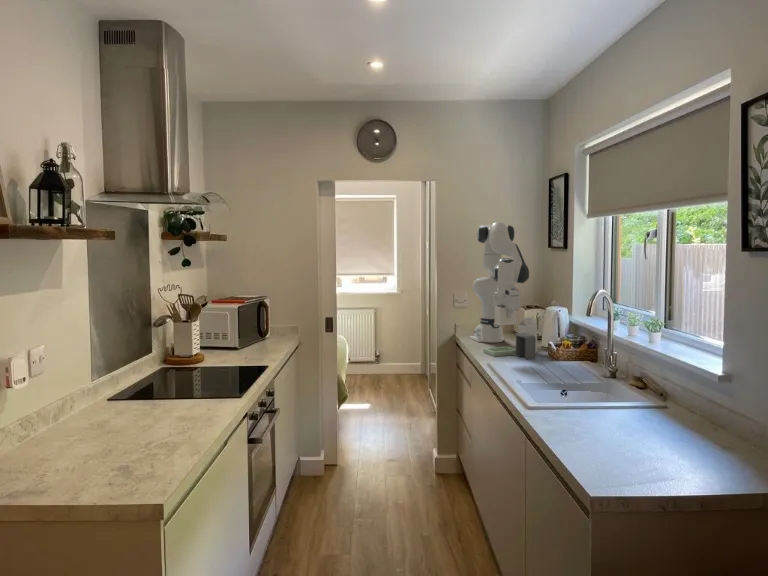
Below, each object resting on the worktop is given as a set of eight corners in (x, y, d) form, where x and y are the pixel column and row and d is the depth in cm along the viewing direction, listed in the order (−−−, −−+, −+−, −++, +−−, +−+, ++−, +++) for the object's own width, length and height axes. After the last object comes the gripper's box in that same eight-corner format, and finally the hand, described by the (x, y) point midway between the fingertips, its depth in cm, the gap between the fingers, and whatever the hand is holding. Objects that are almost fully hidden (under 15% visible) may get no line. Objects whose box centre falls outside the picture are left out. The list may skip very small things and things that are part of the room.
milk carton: (518, 351, 303) (518, 317, 302) (528, 350, 306) (528, 316, 305) (526, 353, 297) (527, 319, 295) (536, 352, 300) (537, 318, 298)
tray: (483, 352, 301) (483, 348, 301) (507, 350, 307) (507, 346, 307) (494, 356, 291) (494, 352, 291) (519, 354, 297) (519, 349, 296)
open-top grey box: (514, 355, 292) (515, 333, 291) (524, 354, 294) (524, 332, 293) (525, 359, 283) (525, 336, 282) (535, 358, 286) (535, 335, 285)
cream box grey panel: (494, 323, 284) (494, 305, 283) (510, 322, 287) (511, 304, 286) (499, 325, 279) (500, 306, 278) (516, 324, 283) (516, 305, 282)
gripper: (489, 288, 290) (489, 314, 291) (512, 292, 271) (511, 320, 272) (500, 288, 292) (499, 313, 294) (523, 292, 273) (522, 319, 275)
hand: (505, 317), depth 283 cm, fingers closed on cream box grey panel, 5 cm apart
